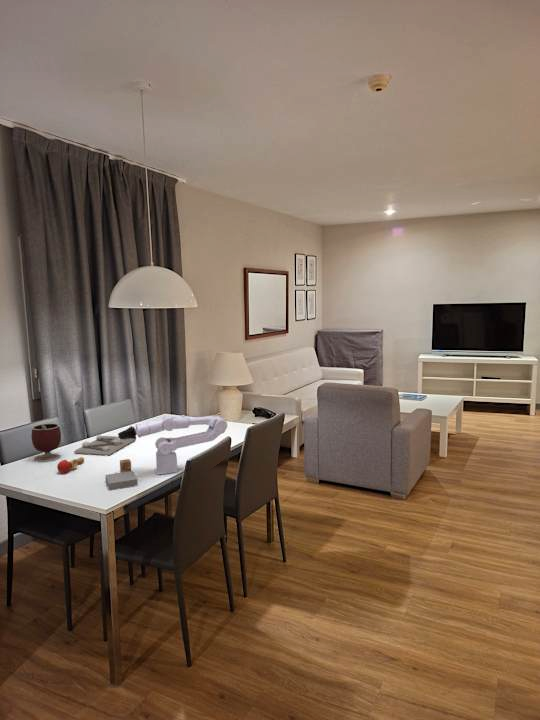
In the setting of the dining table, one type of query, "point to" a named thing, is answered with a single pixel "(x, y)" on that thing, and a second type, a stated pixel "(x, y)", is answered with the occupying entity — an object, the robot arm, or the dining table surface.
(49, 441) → the mate gourd
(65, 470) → the kendama
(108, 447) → the grey piece
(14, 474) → the dining table surface
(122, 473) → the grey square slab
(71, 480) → the dining table surface
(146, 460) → the dining table surface
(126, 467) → the walnut block
